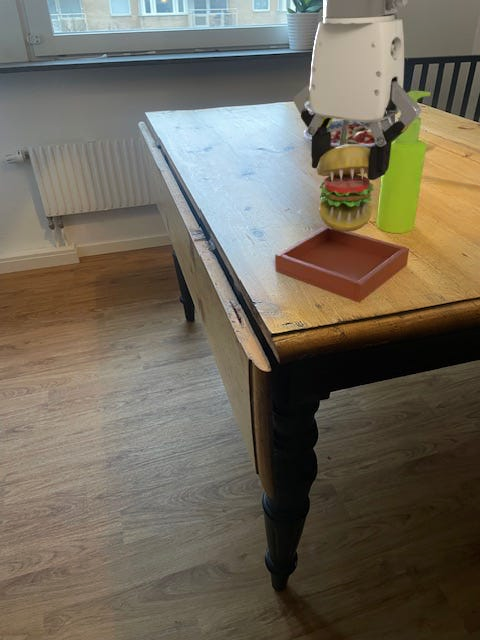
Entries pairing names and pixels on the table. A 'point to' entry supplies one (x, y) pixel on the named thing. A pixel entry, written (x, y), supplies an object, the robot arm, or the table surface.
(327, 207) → the hamburger
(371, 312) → the table surface
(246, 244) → the table surface
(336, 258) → the tray
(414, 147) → the soap dispenser
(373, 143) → the ceramic plate
